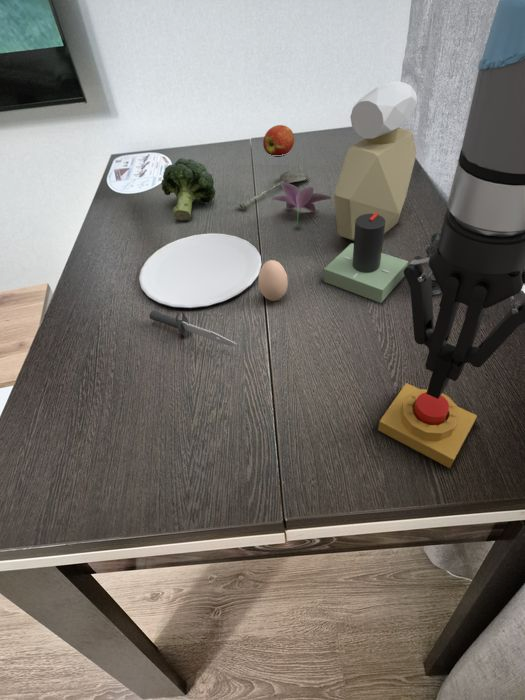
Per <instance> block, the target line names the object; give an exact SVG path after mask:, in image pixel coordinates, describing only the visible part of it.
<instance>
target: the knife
mask: <svg viewBox="0 0 525 700" xmlns="http://www.w3.org/2000/svg"><path fill="white" fill-rule="evenodd" d="M181 314H182V319H179V316H180V315H181ZM148 317H149V319H150V320H152V321H154V322H159V323H161V324H164V325H166V326H170V327H173V328H175V329H177V330H178V332H179V333H180V334H181V335H182V336H183V337H184V338H186V337H187V336H188V335H189V334H190V333H192V334H195V335H198V336H200V337H203V338H205V339H208V340H211V341H214V342H216V343H220V344H223V345H225V346H237V345H239V344H238V343H236V342H234V341H233V340H231V339H229V338H227V337H224V336H223V335H221V334H218V333H217V332H214V331H212V330H209V329H205V328H203V327H200V326H196V325H195V324H192V323H189V322H190V321H189V320H188V319H189V318H187V317H186V314H185V313H184V312H183V311H179V312H178V313H177V314H176V316H175V317H173V316H170V315H167V314H164V313H161V312H160V311H158V310H151V311H150V312H149V315H148Z"/></svg>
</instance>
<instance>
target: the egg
mask: <svg viewBox="0 0 525 700" xmlns="http://www.w3.org/2000/svg"><path fill="white" fill-rule="evenodd" d="M257 278H258V279H257V282H258V289H259V291H260V293H261V294H262V296H263V297H264V299H267V300H269V301H271V302H275V301H278V300H281V299H282V298H283V297H284V296H285V294H286V292H287V290H288V286H289V282H288V281H289V280H288V275H287V272H286V270H285V268H284V267H283V265H282V264H281V263H280V262H279V261H277V260H275V259H270V260H267V261H265V262H264V263H263V265H262V266H261V269H260V273H259V276H258V277H257Z"/></svg>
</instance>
